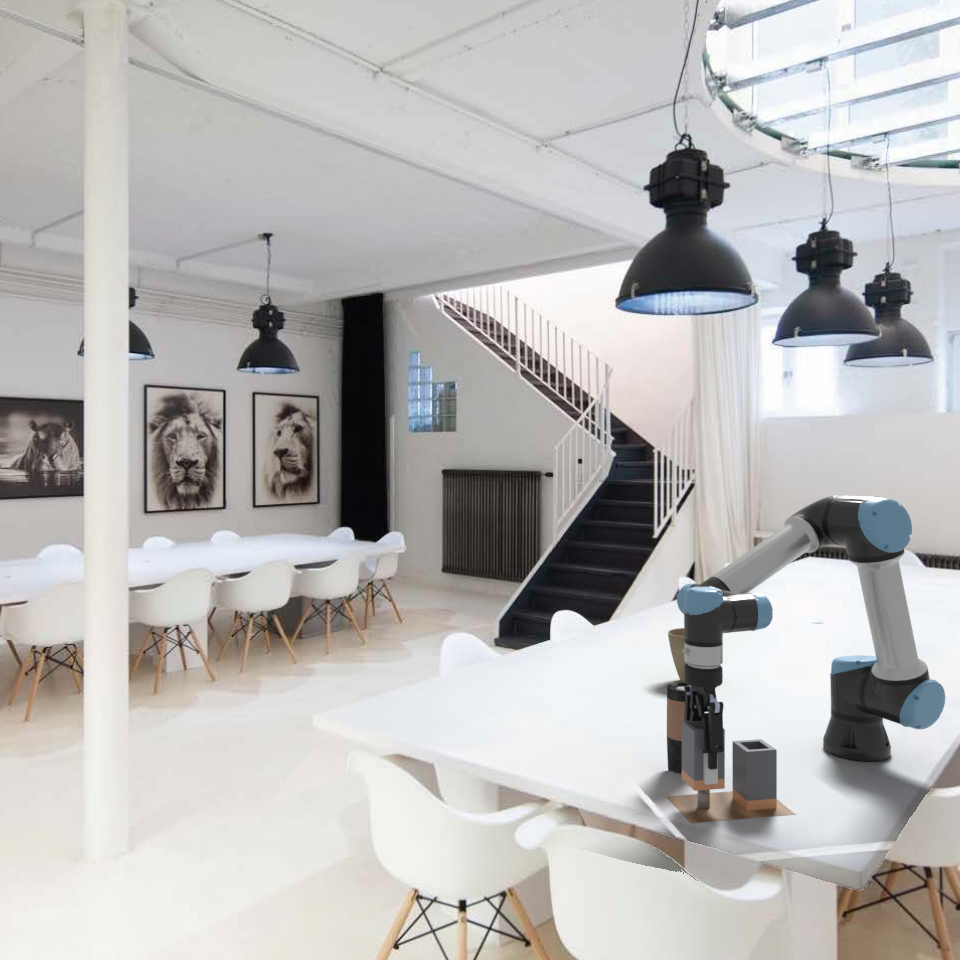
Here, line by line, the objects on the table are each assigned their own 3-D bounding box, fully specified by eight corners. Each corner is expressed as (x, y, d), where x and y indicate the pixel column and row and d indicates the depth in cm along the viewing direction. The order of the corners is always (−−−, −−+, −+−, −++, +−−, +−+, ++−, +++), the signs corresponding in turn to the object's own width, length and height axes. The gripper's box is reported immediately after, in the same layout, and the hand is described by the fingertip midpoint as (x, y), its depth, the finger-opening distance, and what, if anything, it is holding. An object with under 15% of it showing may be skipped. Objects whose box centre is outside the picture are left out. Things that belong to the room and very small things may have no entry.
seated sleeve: (761, 795, 177) (761, 739, 177) (776, 808, 171) (776, 749, 170) (732, 798, 176) (732, 741, 176) (747, 810, 170) (746, 751, 169)
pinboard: (763, 794, 181) (763, 756, 180) (795, 820, 168) (795, 779, 168) (666, 802, 177) (665, 763, 177) (691, 829, 164) (690, 787, 164)
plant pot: (711, 675, 277) (711, 627, 277) (719, 688, 262) (719, 637, 262) (665, 675, 279) (665, 627, 278) (671, 687, 264) (670, 636, 263)
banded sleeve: (710, 776, 175) (711, 719, 175) (724, 788, 169) (724, 729, 168) (681, 778, 174) (681, 721, 174) (694, 790, 168) (694, 731, 168)
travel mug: (698, 781, 188) (698, 692, 188) (664, 777, 191) (663, 689, 190) (703, 769, 195) (702, 683, 195) (669, 765, 198) (669, 680, 198)
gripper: (667, 654, 180) (667, 761, 180) (705, 677, 161) (705, 797, 161) (700, 652, 181) (700, 758, 182) (742, 675, 162) (742, 794, 162)
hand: (703, 776), depth 171 cm, fingers closed on banded sleeve, 6 cm apart
